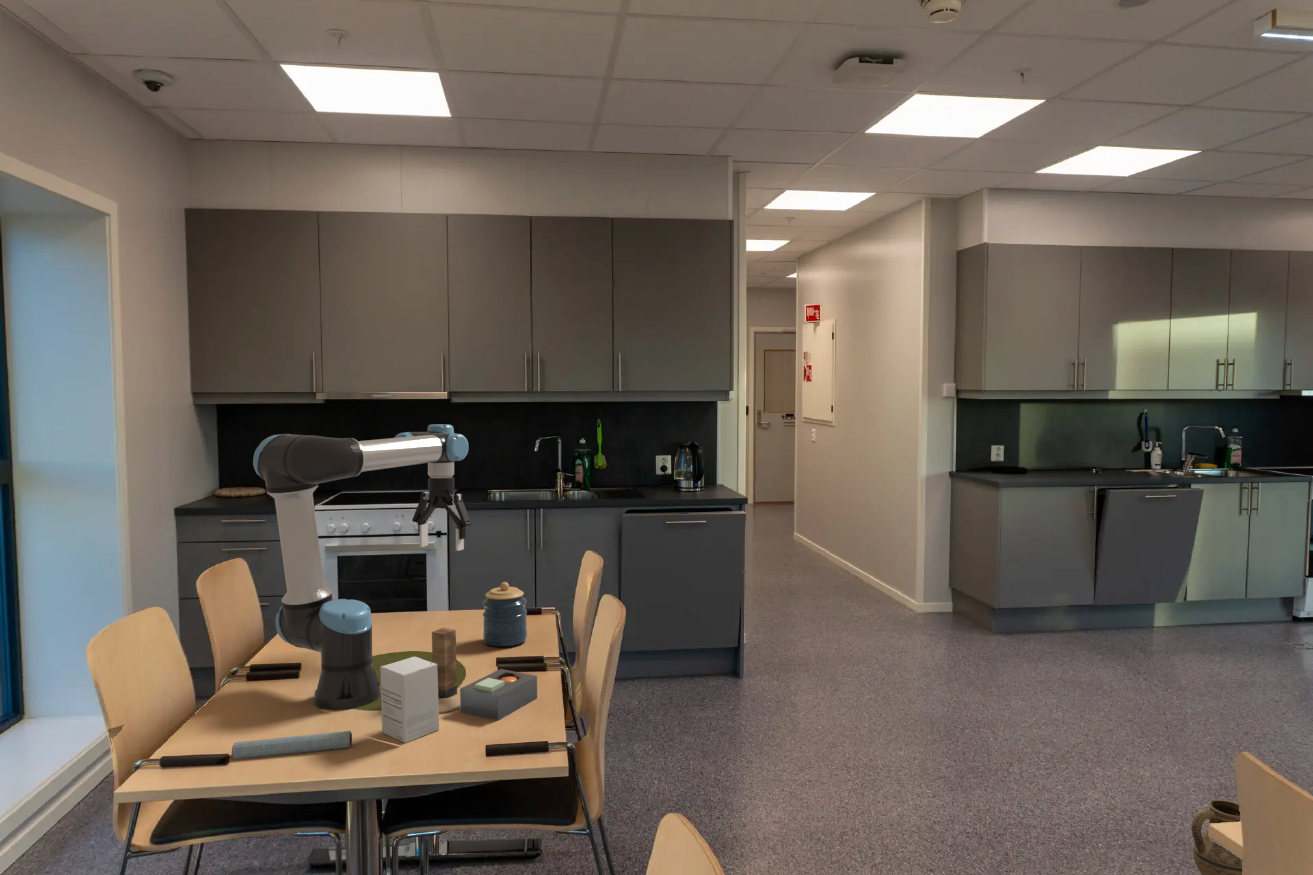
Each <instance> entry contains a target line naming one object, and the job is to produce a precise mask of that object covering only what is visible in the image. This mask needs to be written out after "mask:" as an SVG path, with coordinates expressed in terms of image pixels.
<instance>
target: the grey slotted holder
mask: <svg viewBox="0 0 1313 875" xmlns="http://www.w3.org/2000/svg"><path fill="white" fill-rule="evenodd" d="M504 677H516V678H517V680H516V681H514V682H512V683H508V682H505V686H504V687H502V688H500V689H498V690H496V691H494V692H492V693H491V692H487V691H482V690H477V689H475V684H477V683H479V682H481V681H483V680H485V679H487V678H492V679H497V680H500V679H501V678H504ZM459 693H460V694H459V697H460V698H459V700H460V713H464V714H469V715H474V716H477V717H482V718H487V719H491V720H494V721H495V720H496V721H500V720H502V719H503V718H505V717H507V716H508V715H510V714H512V713H514V712H516V711H517V710H519V709H521V708H522V707H524V706H526V705H528V704H530V703H532V702H533V701H535V700H537V699H538V675H534V674H529V673H523V672H519V671H514V670H507V669H504V668H503V669H502V668H500V669H498V670H495V671H494V672H492V673H489V674H488V675H485V676H483V677H481V678H478V679H476V680H475V681H473V682H471V683H469V684H467V685H465V686H462V687H460V689H459Z"/></svg>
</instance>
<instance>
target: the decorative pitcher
mask: <svg viewBox="0 0 1313 875" xmlns="http://www.w3.org/2000/svg"><path fill="white" fill-rule="evenodd" d="M1207 805H1208V808H1209V809H1200V810H1199V811H1197V812H1196V813H1195V814H1194V815H1193V818H1192V820H1191V821H1192V823H1191V835H1192V838H1193V841H1194V845H1193V848H1192V856H1193V860H1194V863H1195V865H1196V868H1197V870H1198V871H1199V873H1201V875H1242V860H1241V859H1240V858H1238V857H1236V856H1235V855H1233V854H1232V853H1230V852H1229V851H1227V850H1226V849H1225V848H1223V847H1222V846H1219V845H1218V844H1216V843H1214V842H1212V841H1211V840H1210V839H1209V837H1208V830H1207V831H1206V832H1204V833H1203V834H1202V826H1203V824H1204V822H1205V821H1207V820H1209V823H1208V824H1209V825H1210V823H1220V822H1239V821H1240V812H1239V805H1240V804H1239V803H1236V802H1234V801H1230V800H1225V799H1211V800H1208V802H1207ZM1209 825H1208V826H1209Z"/></svg>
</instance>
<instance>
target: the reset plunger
mask: <svg viewBox="0 0 1313 875" xmlns="http://www.w3.org/2000/svg"><path fill="white" fill-rule="evenodd" d="M500 680H502V681H505V682H508V683H512V682H514V681H516V680H517V678H516V677H504V678H501V679H500Z"/></svg>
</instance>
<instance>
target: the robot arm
mask: <svg viewBox="0 0 1313 875" xmlns="http://www.w3.org/2000/svg"><path fill="white" fill-rule="evenodd" d="M454 429H455V428H454V426H453V425H451V424H443V423H442V424H428V426H427V431H412V432H411V431H406V432H400V433H398V434H396V435H395V436H394V437H391V438H381V439H380V438H379V439H370V440H360V441H358V440H357V439H355V438H353V437H344V438H340V437H339V438H338V437H327V436H320V435H311V434H310V435H309V434H308V435H304V434H291V433H282V434H273V435H271V436H268V437H266V438H265V439H263V440H262V441H261V442H260V443H259V445H258V446H257V447H256V449H255V451H254V454H253V459H252V461H253V462H252V463H253V464H252V465H253V468H254V471H255V472H256V475H257V476H259V477H260V478H261V479H262V480H264V481H265V488H266V489H265V490H266V493H267V495H269V496H270V497H272V498H273V500H274V504H275V505H274V506H275V511H276V518H277V525H278V532H279V541H280V547H281V548H280V549H281V555H282V562H283V563H282V564H283V570H284V578H285V584H286V586H285V587H286V593H285V594H284V596H282V598H281V606H280V607H279V608H278V610H279V611H278V612H277V613H276V615H275V628H276V632H277V635H278V636H279V637H280V639H282V641H284V642H285V643H287V644H290V645H291V646H294V647H296V648H300V649H306V650H311V651H314V652H319V653H320V661H321V663H320V666H321V671H320V674H319V678H318V679H319V680H318V683H317V687H316V689H315V691H314V693H313V694H314V698H313V699H314V706H316V707H318V708H319V709H321V710H323V709H324V710H329V711H330V710H331V711H339V710H342V711H343V710H350V709H351V710H352V709H356V708H360V707H364V706H367V705H369V704H372V703H374V702H375V701H377V700H378V699H380V698H381V682H380V681H379V679H378V676H377V673H376V670H375V668H374V665H373V617H372V613H371V612H372V611H371V607H370V606H369V605H368V604H366V603H365V602H363V601H360V600H357V599H347V598H340V599H333V592H332V589H331V588H329V587H328V586H326V585H325V581H324V572H323V564H322V559H321V550H320V541H319V534H318V533H319V532H318V527H317V518H316V511H315V504H314V503H315V502H314V492H315V491H316V489H317V488H318V487H319V484H322V483H327V482H328V483H329V482H332V481H337V480H342V479H349V478H355V477H358V476H359V475H360V474H361V473H363V472H368V471H369V472H370V471H376V470H384V469H385V470H386V469H391V468H399V467H400V468H401V467H406V466H412V465H413V466H414V465H421V464H427V475H428V476H429V477H428V479H427V488H428V490H429V491H421V492H420V498H419V502H418V504H417V507H416V509H415V512H414V515H413V517H412V523H416V524H417V533H418V536H419V547H420V548H424V547H427V546H429V525H428V523H427V521H428V520H429V518H430V517H431V515H432V514H433V513H434V511H435V510H436V509H442V510H443V509H444V510H446V511H447V512H448V514H449V516H450V517H451V519H452V520H453V522H454V523H455V525H456V526H457V527H456V528H455V552H458V551H459V552H460V551H463V550H465V539H466V537H467V536H466V534H467V533H466V530H467V529H466V528H467V527H470V526H472V521H471V519H470V516H469V513H468V511H467V508H466V505H465V504H464V500H463V494H462V493H456V494H454V489H455V477H454V475H455V462H456V461H457V462H459V461H463V460H464V459H465V458H466V456H467V455H468V453H469V442H468V439H467V437H465V435H463V434H460V433H455V430H454Z"/></svg>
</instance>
